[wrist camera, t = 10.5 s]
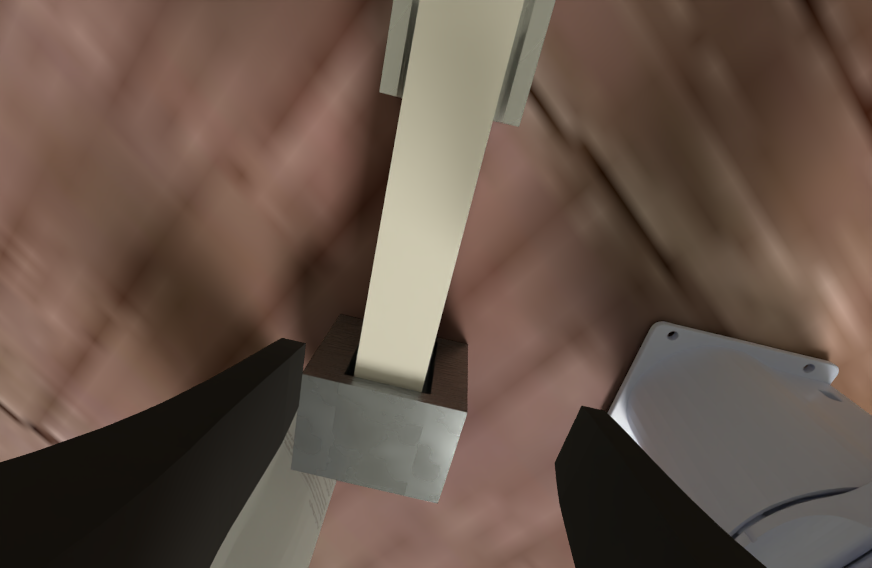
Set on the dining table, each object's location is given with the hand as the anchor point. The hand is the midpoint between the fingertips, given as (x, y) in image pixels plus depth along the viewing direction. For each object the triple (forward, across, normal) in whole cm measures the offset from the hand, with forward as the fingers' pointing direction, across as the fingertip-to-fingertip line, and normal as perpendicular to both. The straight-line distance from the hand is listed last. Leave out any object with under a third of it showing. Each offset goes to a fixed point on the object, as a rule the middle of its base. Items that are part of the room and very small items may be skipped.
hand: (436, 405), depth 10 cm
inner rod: (+10, +2, -2) cm, 11 cm away
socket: (+10, +1, +7) cm, 13 cm away
